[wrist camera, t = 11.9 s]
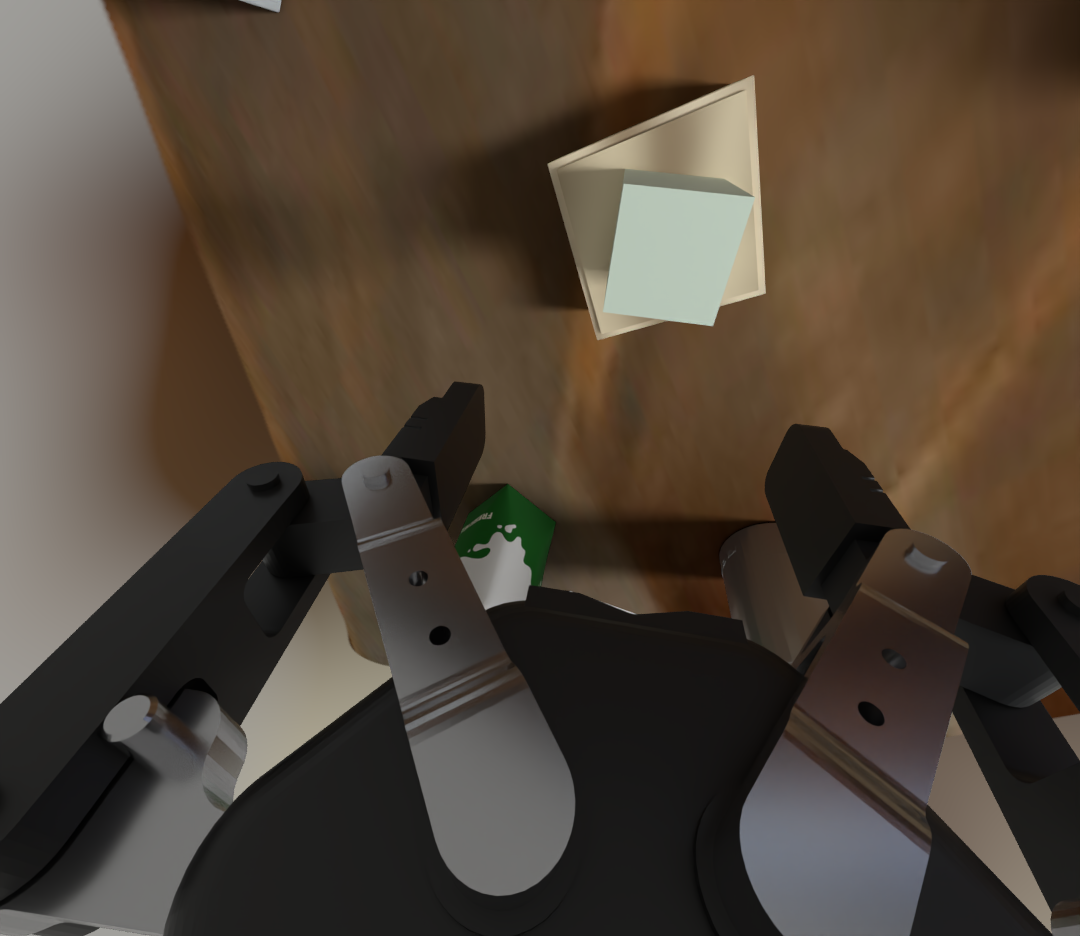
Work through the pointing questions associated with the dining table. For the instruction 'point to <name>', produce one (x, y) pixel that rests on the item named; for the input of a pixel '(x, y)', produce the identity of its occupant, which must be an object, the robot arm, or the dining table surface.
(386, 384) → the dining table surface
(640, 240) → the block
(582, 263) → the beige box
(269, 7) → the supplement box
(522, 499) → the milk carton
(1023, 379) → the dining table surface
